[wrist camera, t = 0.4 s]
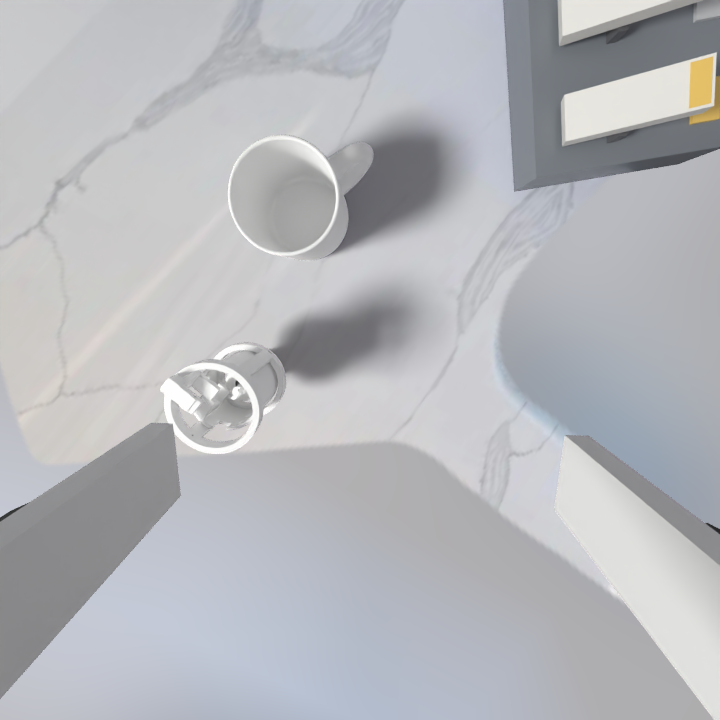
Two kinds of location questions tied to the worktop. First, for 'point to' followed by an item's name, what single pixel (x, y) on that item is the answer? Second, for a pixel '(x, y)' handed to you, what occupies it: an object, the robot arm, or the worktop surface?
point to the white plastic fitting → (224, 395)
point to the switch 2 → (639, 100)
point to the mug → (295, 195)
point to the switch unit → (592, 68)
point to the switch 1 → (606, 15)
